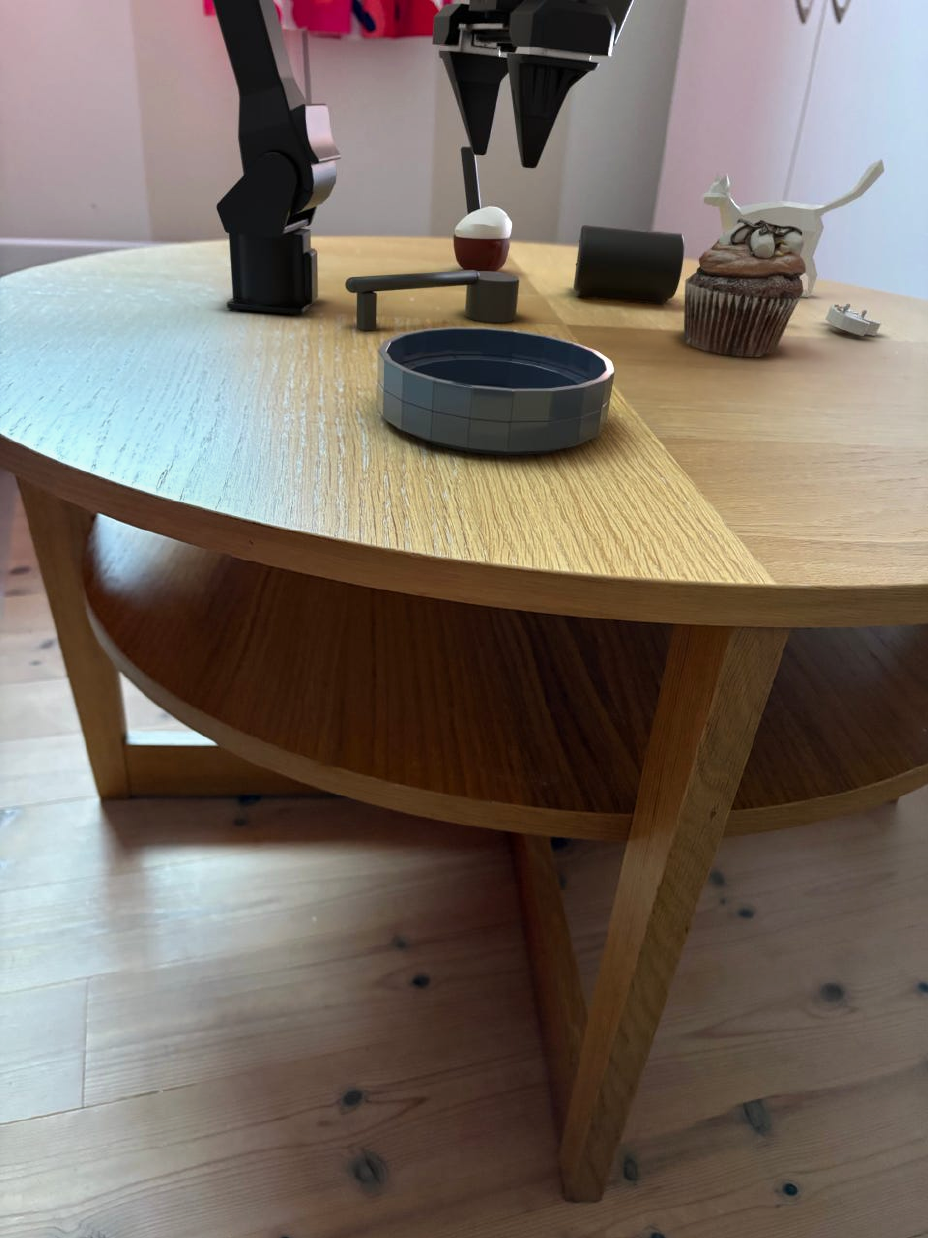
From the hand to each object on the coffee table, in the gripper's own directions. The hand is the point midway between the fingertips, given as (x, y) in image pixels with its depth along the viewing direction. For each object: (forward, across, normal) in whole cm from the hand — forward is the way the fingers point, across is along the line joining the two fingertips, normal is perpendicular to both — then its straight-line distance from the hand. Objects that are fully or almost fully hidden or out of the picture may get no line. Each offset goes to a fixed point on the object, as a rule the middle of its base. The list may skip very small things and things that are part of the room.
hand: (502, 160), depth 69 cm
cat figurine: (+12, +13, -41) cm, 45 cm away
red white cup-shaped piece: (+13, +26, -11) cm, 31 cm away
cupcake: (+13, -8, -20) cm, 25 cm away
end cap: (+13, +10, -20) cm, 26 cm away
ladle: (+13, +3, +4) cm, 14 cm away
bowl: (+13, -22, +10) cm, 27 cm away
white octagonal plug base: (+12, -3, -33) cm, 36 cm away
